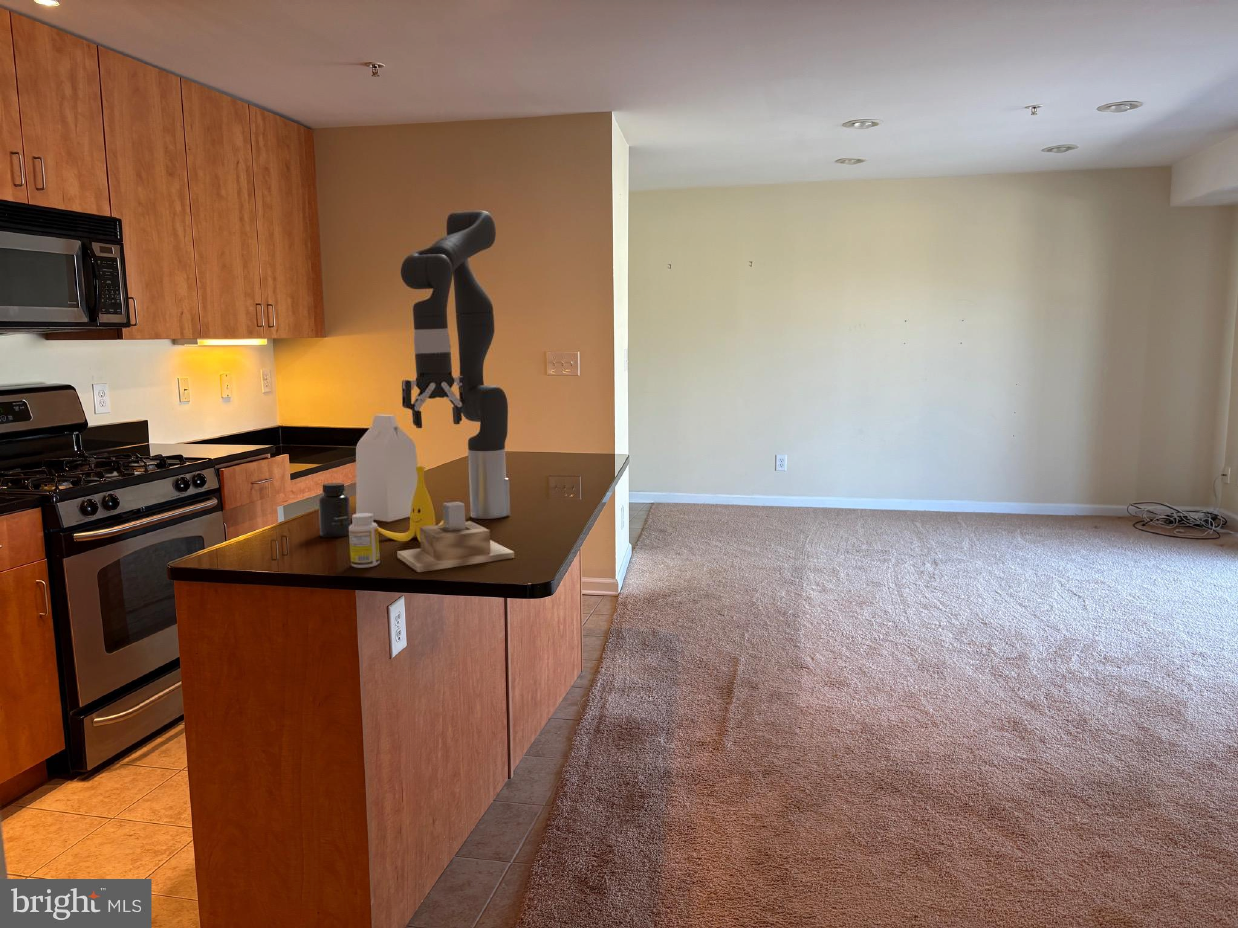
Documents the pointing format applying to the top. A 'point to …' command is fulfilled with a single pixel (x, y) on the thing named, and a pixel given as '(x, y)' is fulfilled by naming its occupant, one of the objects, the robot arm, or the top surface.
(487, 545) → the stone box on board
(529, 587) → the top surface
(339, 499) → the supplement bottle
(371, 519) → the supplement bottle
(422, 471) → the banana peel
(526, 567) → the top surface
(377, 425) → the milk
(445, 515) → the gray rectangular block
